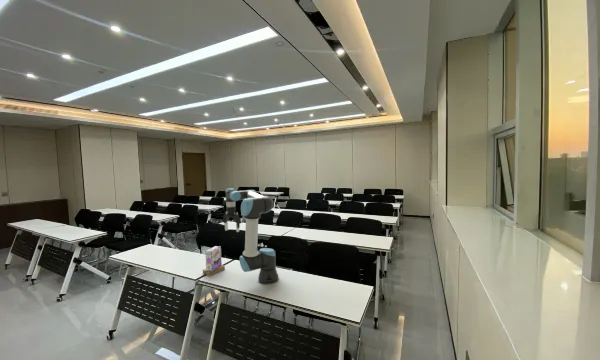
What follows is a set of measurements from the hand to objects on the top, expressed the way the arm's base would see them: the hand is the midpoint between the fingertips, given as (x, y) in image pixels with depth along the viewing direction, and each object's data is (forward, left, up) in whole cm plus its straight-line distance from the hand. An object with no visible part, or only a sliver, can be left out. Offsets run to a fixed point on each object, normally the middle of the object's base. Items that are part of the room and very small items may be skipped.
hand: (232, 231), depth 214 cm
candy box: (+7, +15, -29) cm, 33 cm away
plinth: (+7, +15, -32) cm, 35 cm away
